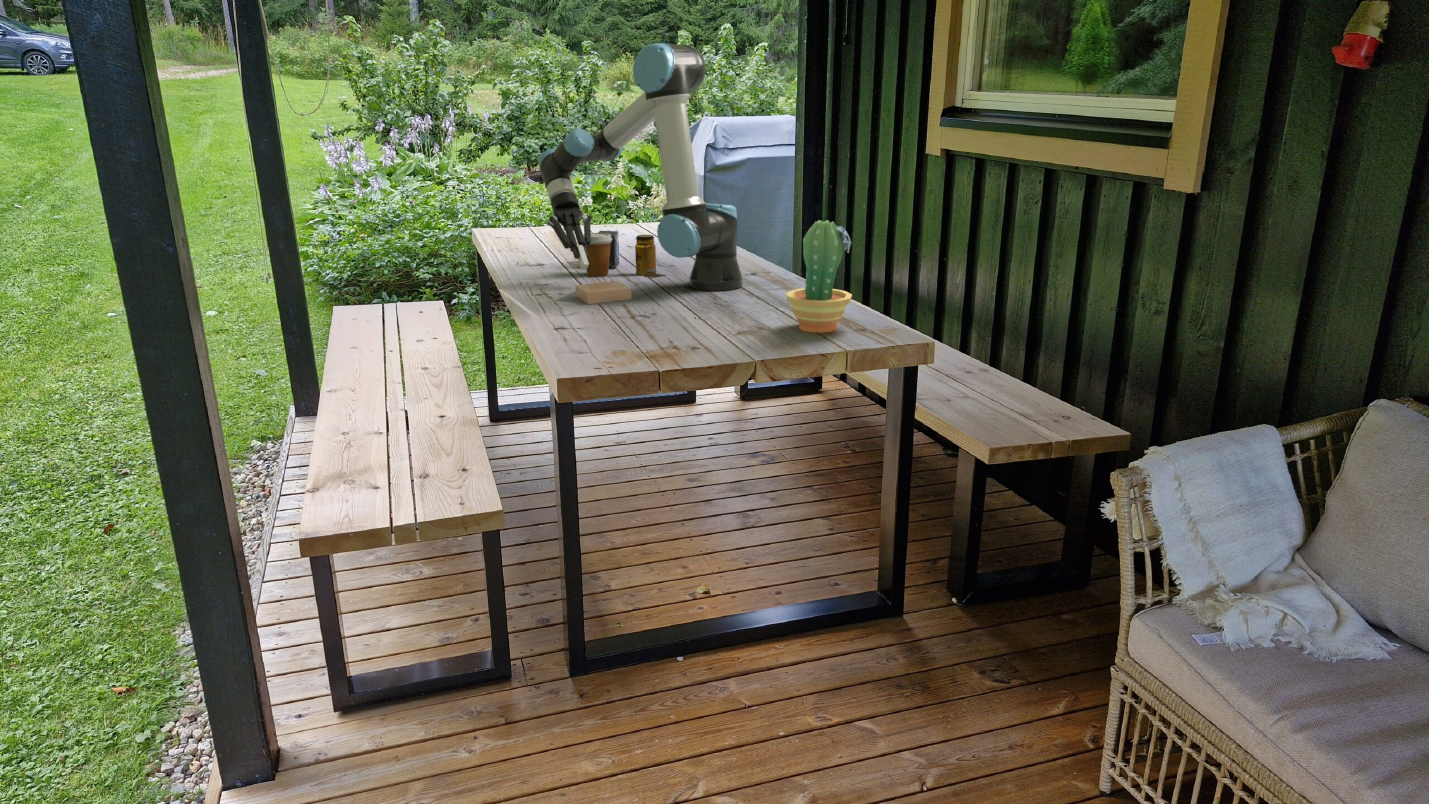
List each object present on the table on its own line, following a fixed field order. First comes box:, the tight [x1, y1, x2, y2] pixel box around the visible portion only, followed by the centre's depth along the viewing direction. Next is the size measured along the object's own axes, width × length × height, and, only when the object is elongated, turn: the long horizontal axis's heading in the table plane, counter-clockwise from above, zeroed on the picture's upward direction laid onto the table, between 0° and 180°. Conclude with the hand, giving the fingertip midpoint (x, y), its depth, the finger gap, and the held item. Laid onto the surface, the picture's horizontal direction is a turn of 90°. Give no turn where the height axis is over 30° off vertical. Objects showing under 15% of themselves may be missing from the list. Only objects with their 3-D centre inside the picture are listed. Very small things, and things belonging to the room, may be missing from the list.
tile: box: [574, 280, 632, 305], centre depth 244 cm, size 3×12×10 cm
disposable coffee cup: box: [583, 232, 612, 278], centre depth 276 cm, size 10×10×12 cm
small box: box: [597, 230, 620, 270], centre depth 290 cm, size 11×6×10 cm, turn 179°
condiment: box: [633, 234, 666, 279], centre depth 276 cm, size 7×8×12 cm
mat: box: [554, 290, 647, 307], centre depth 247 cm, size 19×17×1 cm
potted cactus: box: [785, 219, 853, 334], centre depth 214 cm, size 16×15×25 cm
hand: (585, 267), depth 256 cm, fingers closed
